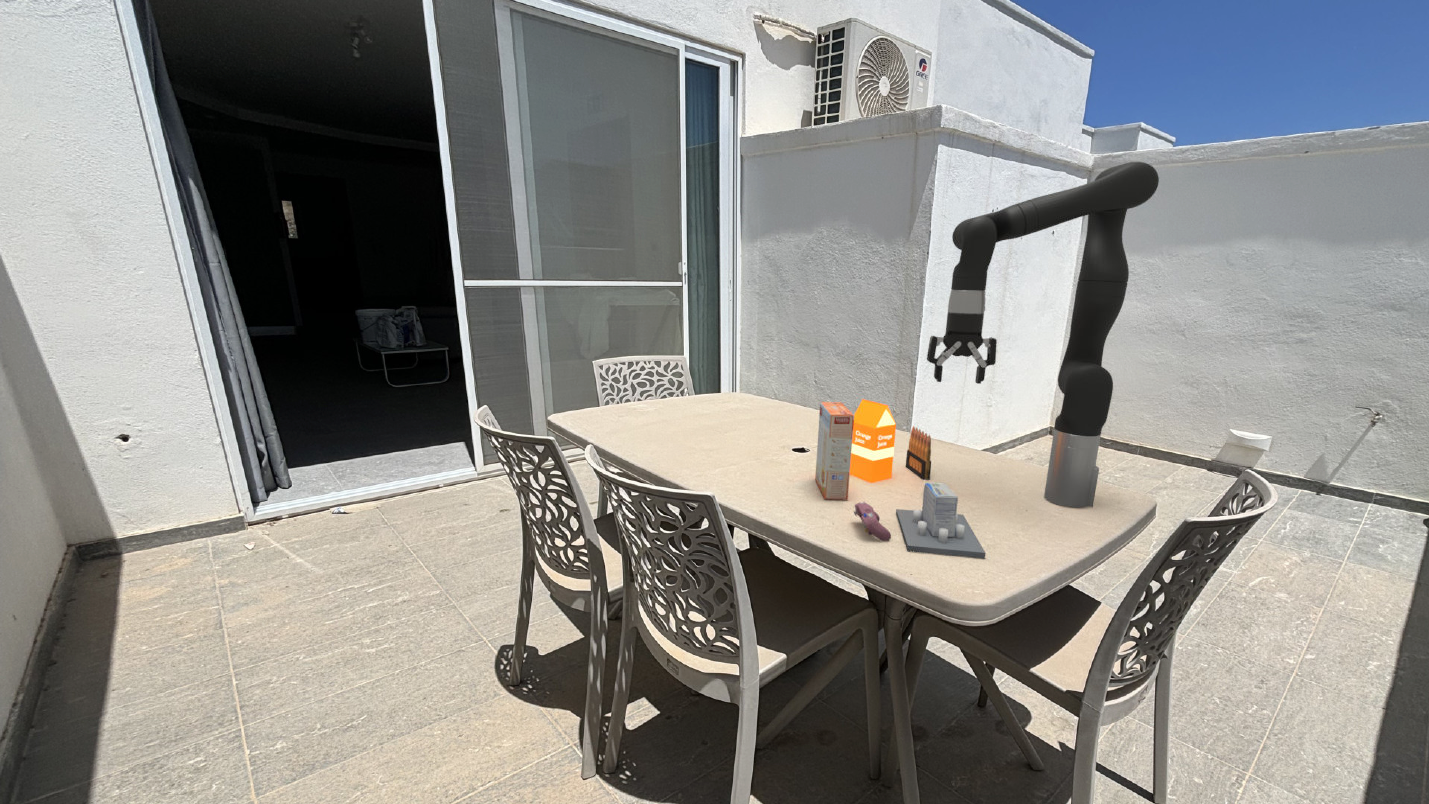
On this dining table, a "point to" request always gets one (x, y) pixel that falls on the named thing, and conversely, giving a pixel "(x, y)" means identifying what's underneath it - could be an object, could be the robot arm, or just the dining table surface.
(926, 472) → the ammunition clip
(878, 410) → the orange juice
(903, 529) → the stub jig
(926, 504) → the medicine box
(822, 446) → the cracker box
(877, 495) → the dining table surface
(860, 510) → the video game controller
